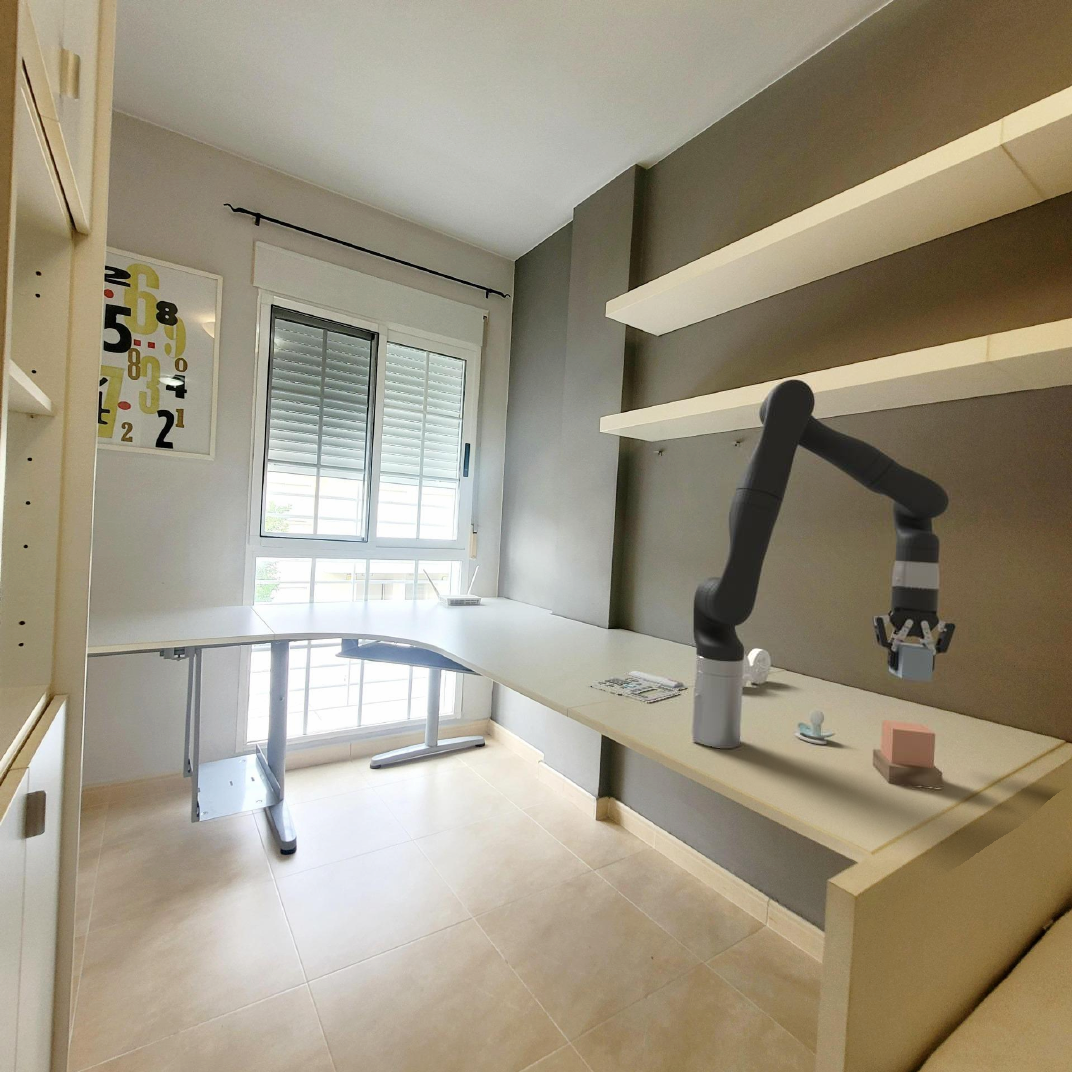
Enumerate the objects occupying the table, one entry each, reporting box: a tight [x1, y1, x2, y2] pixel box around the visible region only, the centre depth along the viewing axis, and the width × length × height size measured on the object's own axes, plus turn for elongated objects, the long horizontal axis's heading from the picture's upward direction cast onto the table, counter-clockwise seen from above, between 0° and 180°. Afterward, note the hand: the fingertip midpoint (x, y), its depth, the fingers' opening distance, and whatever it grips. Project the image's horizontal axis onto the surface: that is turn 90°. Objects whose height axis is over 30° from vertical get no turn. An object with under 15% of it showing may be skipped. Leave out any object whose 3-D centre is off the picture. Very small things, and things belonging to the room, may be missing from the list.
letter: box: [743, 648, 772, 688], centre depth 157 cm, size 22×2×10 cm, turn 129°
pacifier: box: [794, 708, 835, 745], centre depth 115 cm, size 7×6×6 cm
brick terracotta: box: [880, 719, 936, 768], centre depth 98 cm, size 6×5×6 cm
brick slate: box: [888, 642, 934, 683], centre depth 107 cm, size 6×5×6 cm
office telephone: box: [595, 670, 688, 701], centre depth 150 cm, size 23×3×20 cm
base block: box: [872, 748, 943, 789], centre depth 98 cm, size 8×8×3 cm
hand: (909, 671), depth 107 cm, fingers closed on brick slate, 5 cm apart
